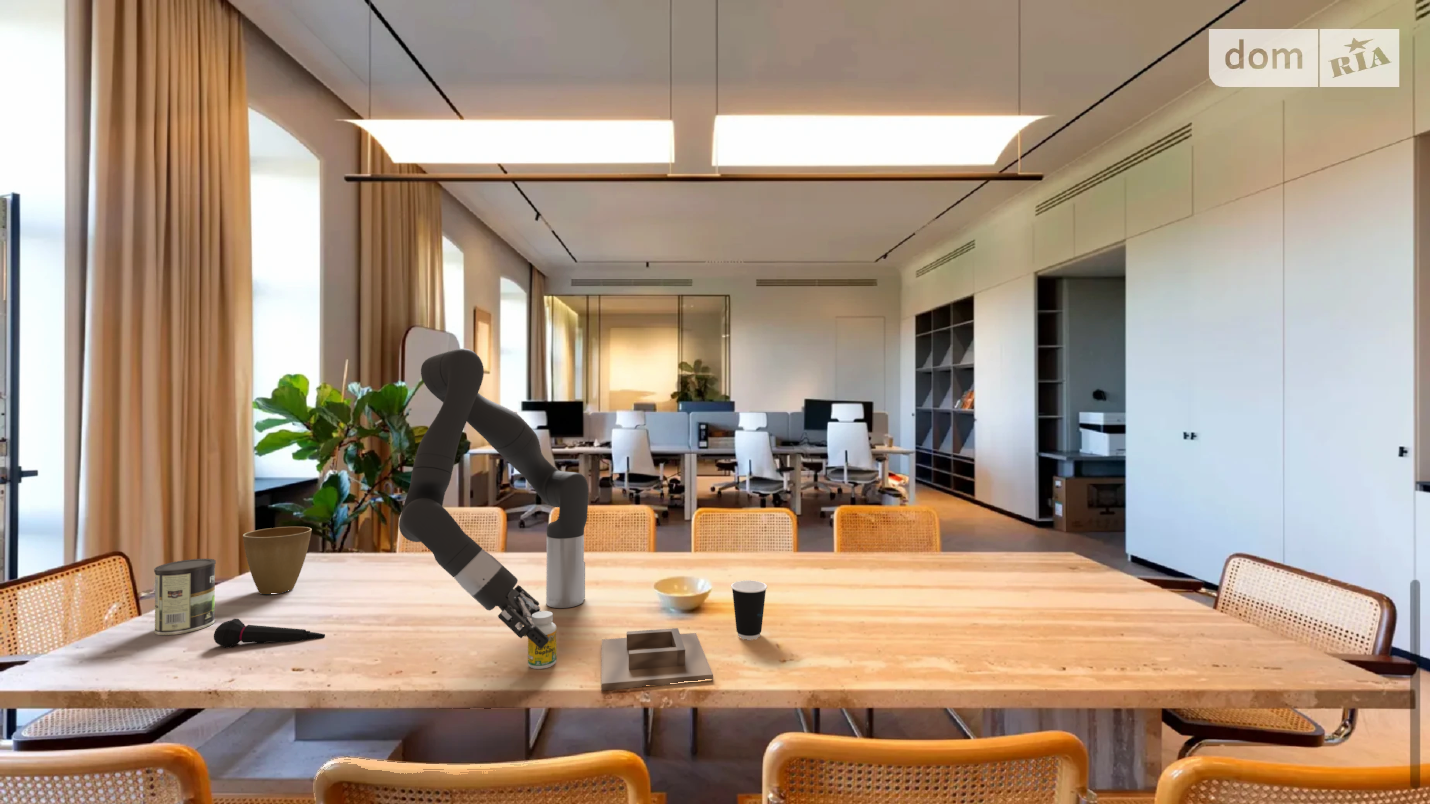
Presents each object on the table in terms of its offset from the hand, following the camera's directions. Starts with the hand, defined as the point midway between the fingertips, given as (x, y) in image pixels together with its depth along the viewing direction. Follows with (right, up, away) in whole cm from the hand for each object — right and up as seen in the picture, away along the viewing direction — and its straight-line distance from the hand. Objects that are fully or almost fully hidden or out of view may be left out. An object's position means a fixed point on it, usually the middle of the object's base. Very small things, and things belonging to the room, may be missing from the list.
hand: (547, 635), depth 115 cm
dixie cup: (+40, -6, +14) cm, 43 cm away
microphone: (-61, -6, +9) cm, 62 cm away
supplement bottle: (-1, -6, 0) cm, 6 cm away
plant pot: (-85, -6, +44) cm, 96 cm away
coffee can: (-87, -5, +18) cm, 89 cm away
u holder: (+20, -6, +1) cm, 21 cm away
